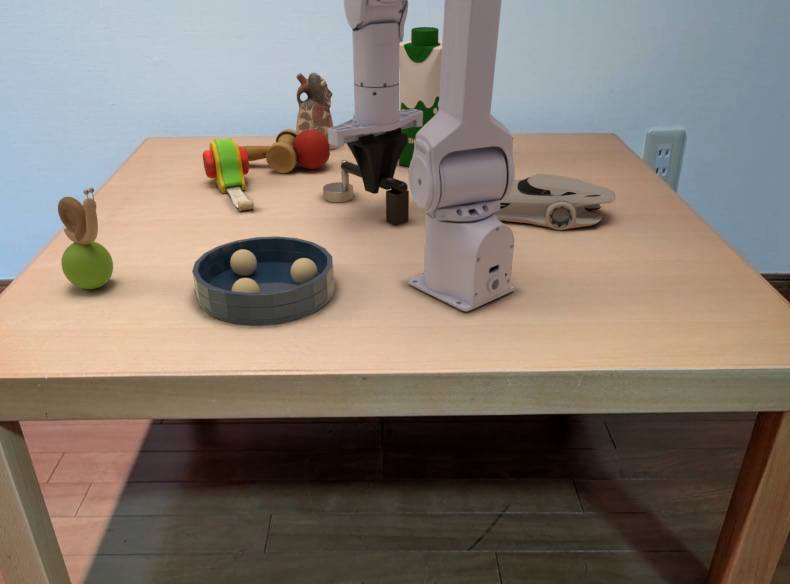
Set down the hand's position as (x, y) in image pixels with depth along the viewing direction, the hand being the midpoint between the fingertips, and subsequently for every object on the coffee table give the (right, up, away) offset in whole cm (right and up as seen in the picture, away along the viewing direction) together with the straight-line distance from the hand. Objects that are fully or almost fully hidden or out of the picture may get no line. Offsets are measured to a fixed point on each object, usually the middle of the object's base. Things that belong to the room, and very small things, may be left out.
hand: (377, 189), depth 100 cm
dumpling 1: (-15, -13, -16) cm, 26 cm away
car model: (+20, -3, +2) cm, 20 cm away
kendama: (-17, +9, +19) cm, 27 cm away
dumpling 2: (-14, -17, -22) cm, 31 cm away
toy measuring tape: (-22, +3, +11) cm, 24 cm away
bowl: (-13, -17, -17) cm, 27 cm away
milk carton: (+8, +10, +21) cm, 24 cm away
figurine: (-11, +16, +29) cm, 35 cm away
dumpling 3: (-8, -14, -18) cm, 24 cm away
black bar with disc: (-2, -2, +4) cm, 4 cm away
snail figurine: (-32, -16, -16) cm, 39 cm away
